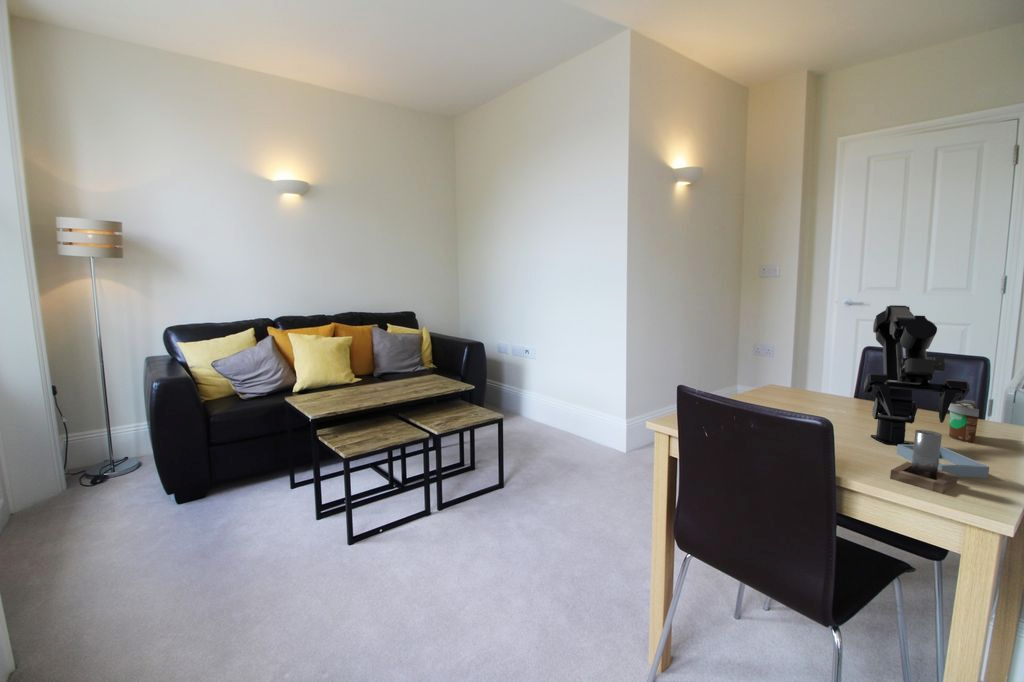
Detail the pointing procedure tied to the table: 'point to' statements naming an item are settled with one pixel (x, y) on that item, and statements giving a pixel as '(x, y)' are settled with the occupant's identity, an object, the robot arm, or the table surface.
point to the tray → (962, 467)
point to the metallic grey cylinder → (926, 453)
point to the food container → (963, 421)
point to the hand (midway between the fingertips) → (916, 419)
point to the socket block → (924, 479)
